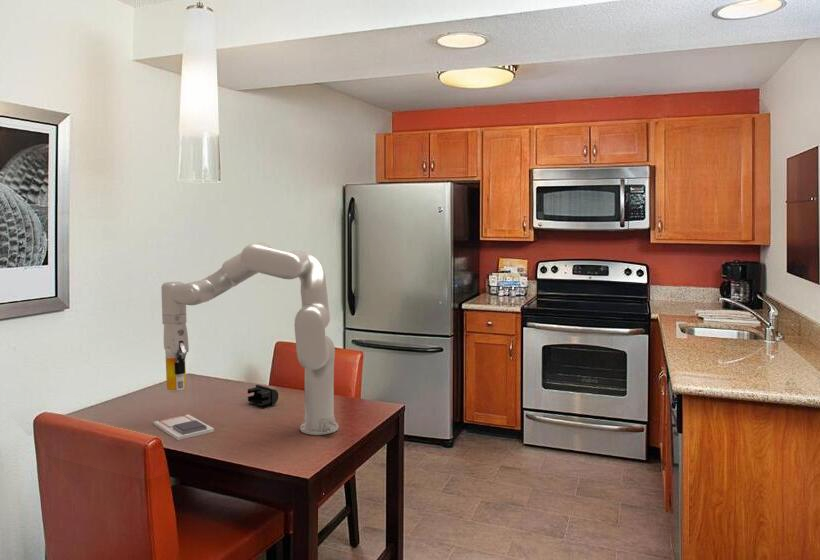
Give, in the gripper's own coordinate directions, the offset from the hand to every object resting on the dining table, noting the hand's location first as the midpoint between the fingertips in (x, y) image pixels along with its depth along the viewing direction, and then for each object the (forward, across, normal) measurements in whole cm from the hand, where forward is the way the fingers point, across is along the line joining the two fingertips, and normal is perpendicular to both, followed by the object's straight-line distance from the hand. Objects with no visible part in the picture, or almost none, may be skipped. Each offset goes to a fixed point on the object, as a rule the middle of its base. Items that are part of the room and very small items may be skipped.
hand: (175, 371), depth 205 cm
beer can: (+7, 0, 0) cm, 7 cm away
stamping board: (+18, -5, 0) cm, 19 cm away
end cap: (+19, +1, -33) cm, 38 cm away
